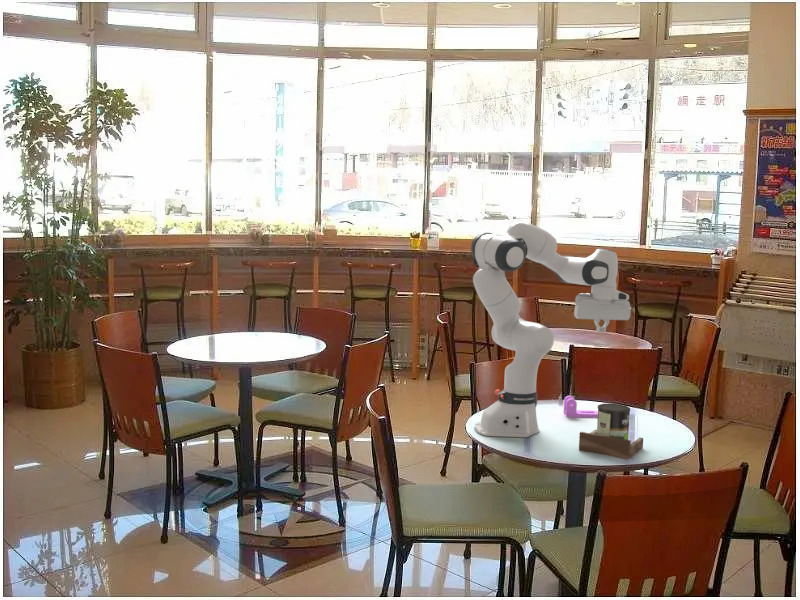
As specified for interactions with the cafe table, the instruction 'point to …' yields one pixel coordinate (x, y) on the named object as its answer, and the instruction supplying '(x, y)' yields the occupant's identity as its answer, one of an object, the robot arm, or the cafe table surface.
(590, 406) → the cafe table surface
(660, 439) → the cafe table surface
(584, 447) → the box
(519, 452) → the cafe table surface
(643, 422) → the cafe table surface
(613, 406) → the coffee can
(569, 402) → the bracket
